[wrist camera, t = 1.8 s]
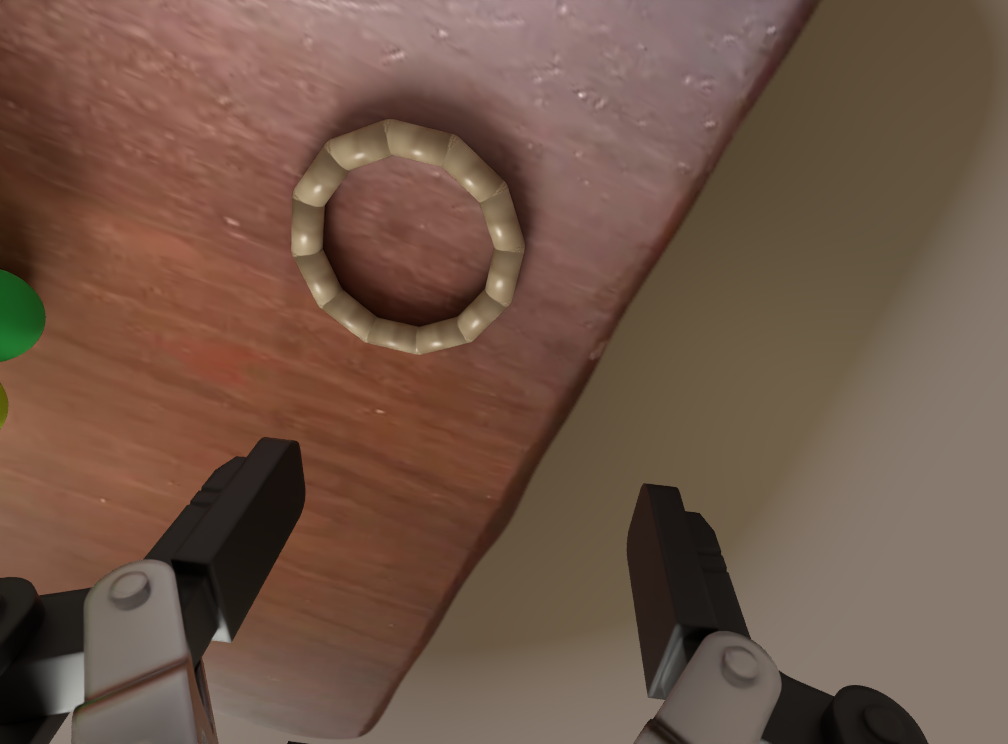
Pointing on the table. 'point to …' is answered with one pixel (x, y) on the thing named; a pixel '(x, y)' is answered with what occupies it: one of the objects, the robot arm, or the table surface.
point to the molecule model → (17, 323)
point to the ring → (427, 149)
